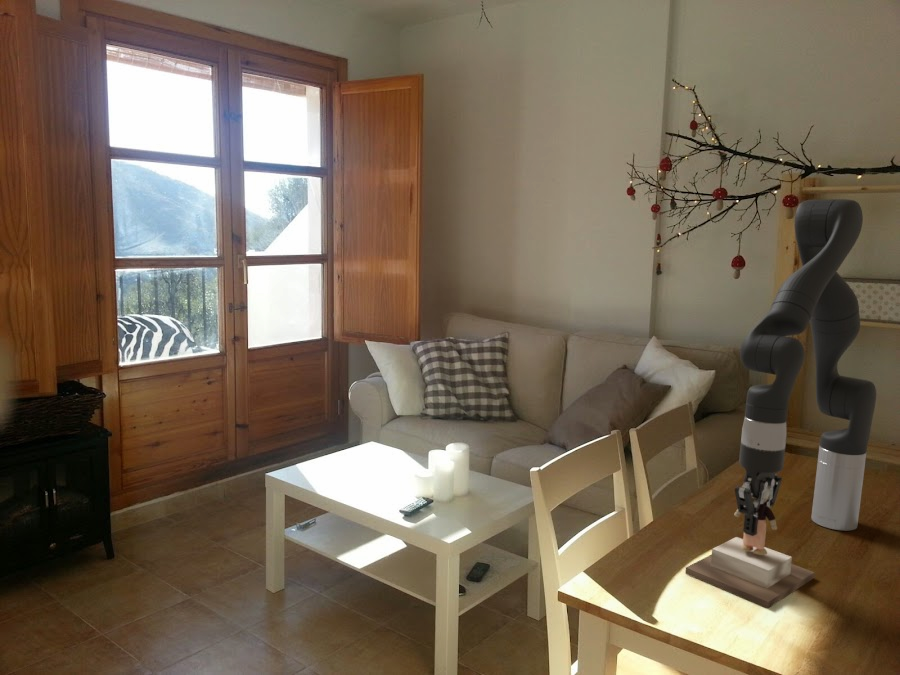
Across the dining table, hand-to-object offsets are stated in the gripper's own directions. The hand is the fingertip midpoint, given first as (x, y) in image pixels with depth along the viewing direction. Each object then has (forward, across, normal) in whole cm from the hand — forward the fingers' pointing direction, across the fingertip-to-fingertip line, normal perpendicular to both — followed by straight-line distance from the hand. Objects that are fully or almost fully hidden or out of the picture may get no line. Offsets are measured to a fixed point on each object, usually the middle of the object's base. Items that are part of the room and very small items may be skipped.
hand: (754, 531), depth 138 cm
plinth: (+9, 0, 0) cm, 9 cm away
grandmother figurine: (+4, -1, 0) cm, 4 cm away
